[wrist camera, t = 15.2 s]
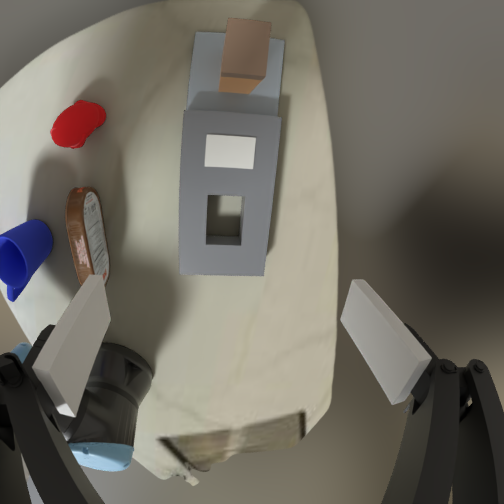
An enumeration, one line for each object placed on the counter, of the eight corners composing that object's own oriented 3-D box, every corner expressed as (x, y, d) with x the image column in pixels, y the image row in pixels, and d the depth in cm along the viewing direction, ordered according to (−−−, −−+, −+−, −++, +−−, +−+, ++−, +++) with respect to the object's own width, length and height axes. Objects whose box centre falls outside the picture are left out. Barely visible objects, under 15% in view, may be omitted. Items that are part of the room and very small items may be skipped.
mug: (18, 265, 37) (-10, 293, 28) (26, 205, 33) (-9, 226, 24) (51, 284, 40) (26, 316, 31) (62, 225, 36) (30, 250, 27)
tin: (84, 182, 34) (56, 196, 27) (102, 180, 35) (77, 193, 27) (99, 274, 40) (81, 303, 33) (116, 274, 41) (100, 303, 33)
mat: (186, 112, 33) (186, 112, 32) (196, 33, 28) (195, 31, 27) (275, 118, 35) (277, 118, 34) (283, 41, 30) (284, 40, 29)
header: (181, 263, 41) (179, 274, 38) (186, 112, 33) (183, 110, 29) (259, 265, 43) (263, 276, 40) (275, 118, 35) (282, 117, 31)
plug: (218, 91, 32) (221, 72, 21) (222, 51, 29) (228, 17, 18) (248, 94, 32) (265, 76, 21) (253, 54, 30) (271, 22, 19)
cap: (59, 163, 30) (79, 153, 27) (38, 131, 25) (56, 115, 23) (94, 132, 34) (117, 120, 32) (76, 102, 30) (98, 86, 27)
